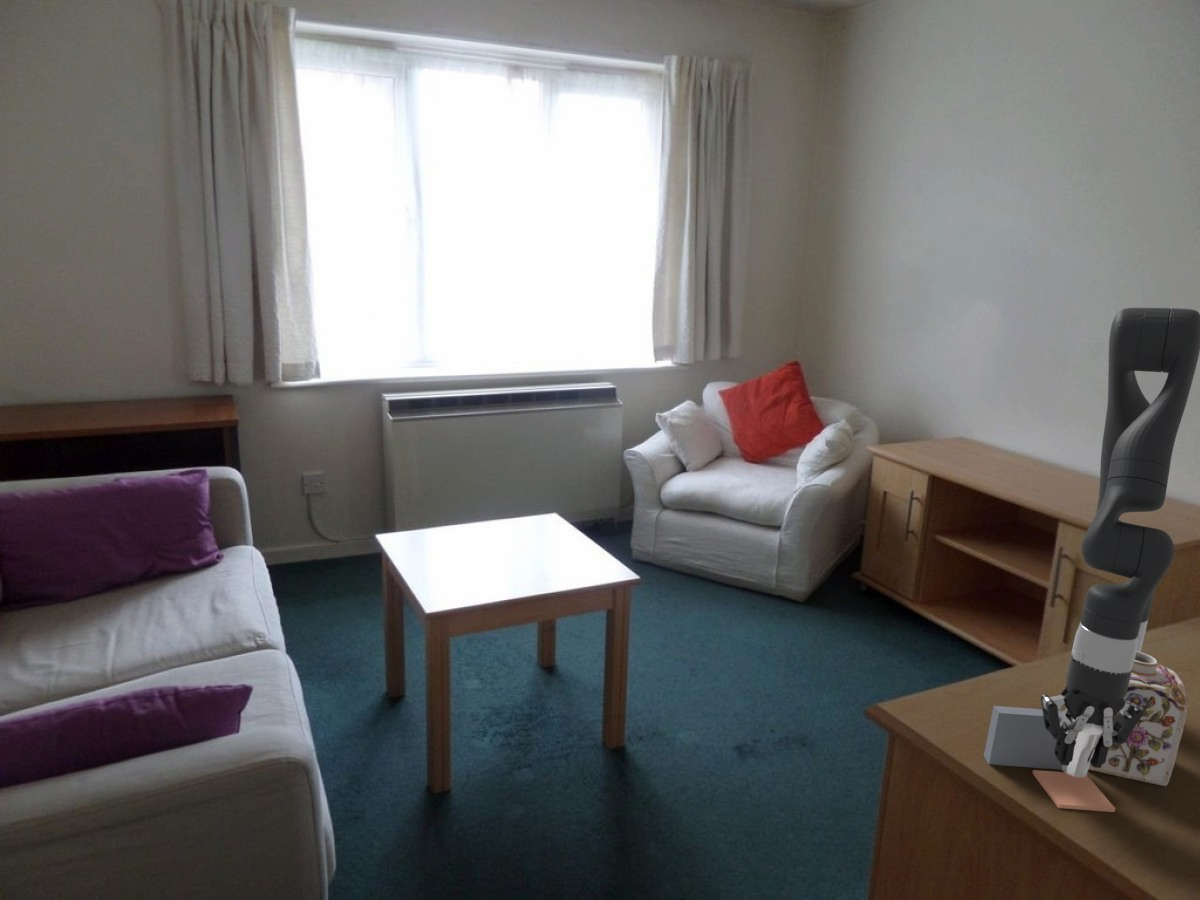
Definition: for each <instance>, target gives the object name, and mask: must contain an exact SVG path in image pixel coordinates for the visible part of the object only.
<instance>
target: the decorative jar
mask: <svg viewBox="0 0 1200 900" xmlns="http://www.w3.org/2000/svg"><path fill="white" fill-rule="evenodd" d="M1186 695H1187V694H1186V688H1185V684H1184V682H1183V681H1182V679H1181V678H1180V676H1179V675H1178V674H1177V673H1176V672H1175V671H1174V670H1172V669H1170V668H1169V667H1167V666H1164V665H1163V664H1160V663H1158V661H1157V659H1156V658H1155V657H1153V656H1151V655H1150V654H1147V653H1145V652H1142V651H1141V652H1138V651H1136V656H1135V660H1134V664H1133V668H1132V673H1131V677H1130V681H1129V685H1128V689H1127V693H1126V695H1125V697H1124V700H1125V701H1126V702H1127V701H1129V700H1130V701H1132V702H1134V703H1135V704H1136V705H1137V706H1138V707H1139V708H1140V709H1141V710H1142V711H1143V715H1142V716H1141V718H1140V720H1139V721H1138V723H1137V724H1136V726H1135V727H1134V729H1133V730H1132V732H1131V734H1130V735H1129V737H1128V738H1127V740H1126V741H1125V743H1123V744H1119V743H1118V742H1117V743H1113V744H1112V745H1111V746H1110V747H1109V749H1108V753H1107V758H1106V762H1105V763H1104V764H1102V766H1101V768H1095V767H1094V766H1093V765H1092V764H1090V767H1089V769H1088V771H1091V772H1092V771H1093V772H1098V773H1101V774H1105V775H1106V774H1107V775H1109V776H1110V775H1112V776H1115V777H1118V778H1125V779H1129V780H1135V781H1139V782H1143V783H1148V784H1153V785H1158V786H1161V787H1167V786H1168V784H1169V783H1170V779H1171V777H1172V773H1173V769H1174V767H1175V763H1176V760H1177V756H1178V750H1179V747H1180V743H1181V739H1182V736H1183V733H1184V727H1185V723H1186V719H1187V715H1188V714H1187V713H1188V710H1189V706H1188V697H1187V696H1186ZM1118 714H1119V712H1118V713H1117V714H1116V715H1115V716H1114V717H1112V722H1114V720H1115V718H1116V717H1117V715H1118ZM1120 730H1121V729H1120ZM1119 732H1120V731H1119Z"/></svg>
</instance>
